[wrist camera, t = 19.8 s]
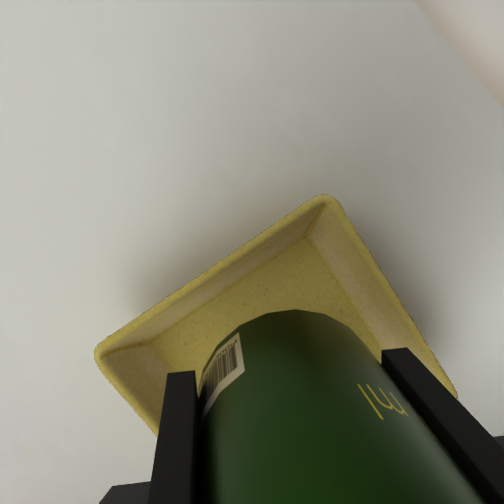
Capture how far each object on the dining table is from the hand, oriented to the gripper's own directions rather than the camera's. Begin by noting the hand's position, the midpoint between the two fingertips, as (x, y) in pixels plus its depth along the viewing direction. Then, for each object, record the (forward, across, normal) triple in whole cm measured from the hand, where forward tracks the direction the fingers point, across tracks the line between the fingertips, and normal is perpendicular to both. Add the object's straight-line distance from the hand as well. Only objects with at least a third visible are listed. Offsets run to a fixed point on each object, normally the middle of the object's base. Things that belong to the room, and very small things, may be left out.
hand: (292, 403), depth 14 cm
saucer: (+4, 0, 0) cm, 4 cm away
